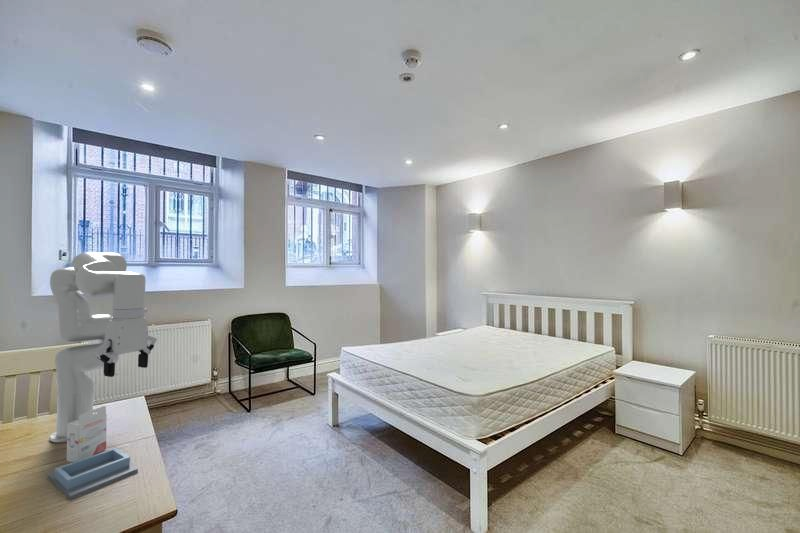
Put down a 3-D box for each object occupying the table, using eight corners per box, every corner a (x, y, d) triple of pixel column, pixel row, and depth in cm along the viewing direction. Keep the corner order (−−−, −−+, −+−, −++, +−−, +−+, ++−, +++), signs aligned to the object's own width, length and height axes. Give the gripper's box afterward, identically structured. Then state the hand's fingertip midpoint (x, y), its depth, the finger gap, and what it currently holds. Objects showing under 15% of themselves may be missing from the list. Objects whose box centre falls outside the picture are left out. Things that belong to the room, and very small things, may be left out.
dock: (47, 477, 99) (47, 465, 99) (111, 454, 112) (112, 443, 112) (70, 499, 90) (70, 486, 90) (137, 471, 103) (137, 460, 103)
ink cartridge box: (94, 447, 116) (95, 403, 116) (106, 449, 115) (107, 405, 115) (65, 461, 108) (66, 413, 108) (77, 463, 107) (79, 415, 107)
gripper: (147, 310, 113) (145, 363, 113) (86, 316, 96) (84, 378, 96) (165, 311, 111) (163, 365, 111) (106, 318, 94) (104, 381, 94)
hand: (126, 371), depth 104 cm, fingers open, 9 cm apart
